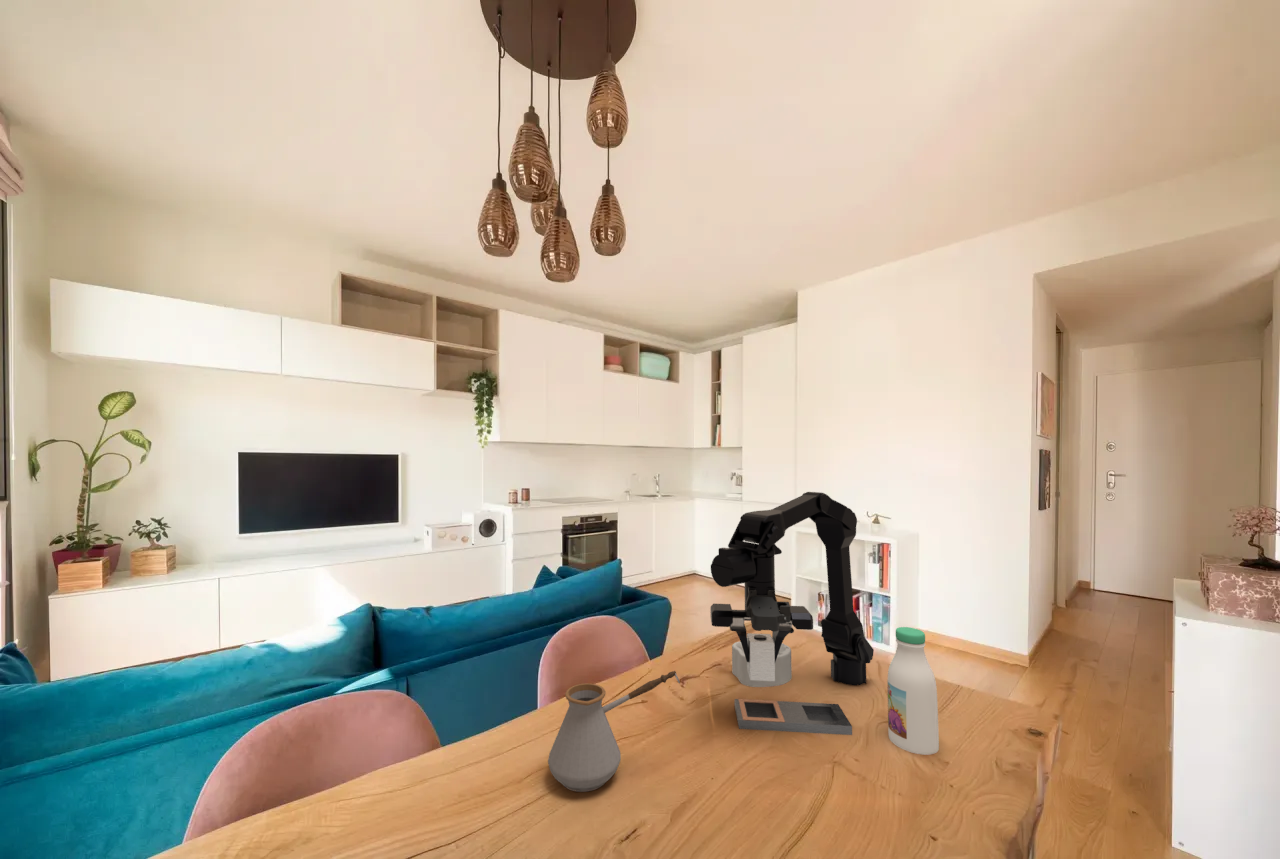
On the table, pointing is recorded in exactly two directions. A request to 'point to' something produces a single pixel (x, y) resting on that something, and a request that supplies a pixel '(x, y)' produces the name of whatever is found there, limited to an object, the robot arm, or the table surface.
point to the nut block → (761, 657)
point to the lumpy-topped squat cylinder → (781, 667)
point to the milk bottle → (912, 696)
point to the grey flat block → (791, 716)
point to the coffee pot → (589, 737)
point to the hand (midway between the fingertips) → (760, 661)
